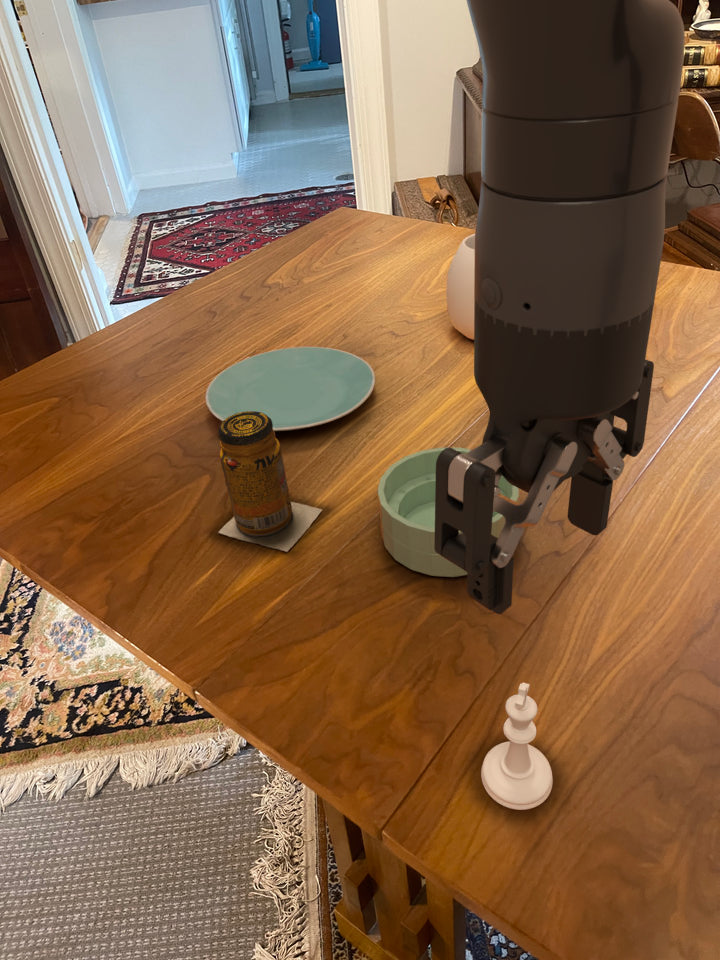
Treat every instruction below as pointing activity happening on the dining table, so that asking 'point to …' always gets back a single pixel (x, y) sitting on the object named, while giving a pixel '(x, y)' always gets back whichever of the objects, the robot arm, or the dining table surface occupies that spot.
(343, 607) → the dining table surface
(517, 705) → the chess piece
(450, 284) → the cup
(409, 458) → the bowl
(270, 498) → the condiment
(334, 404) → the plate
